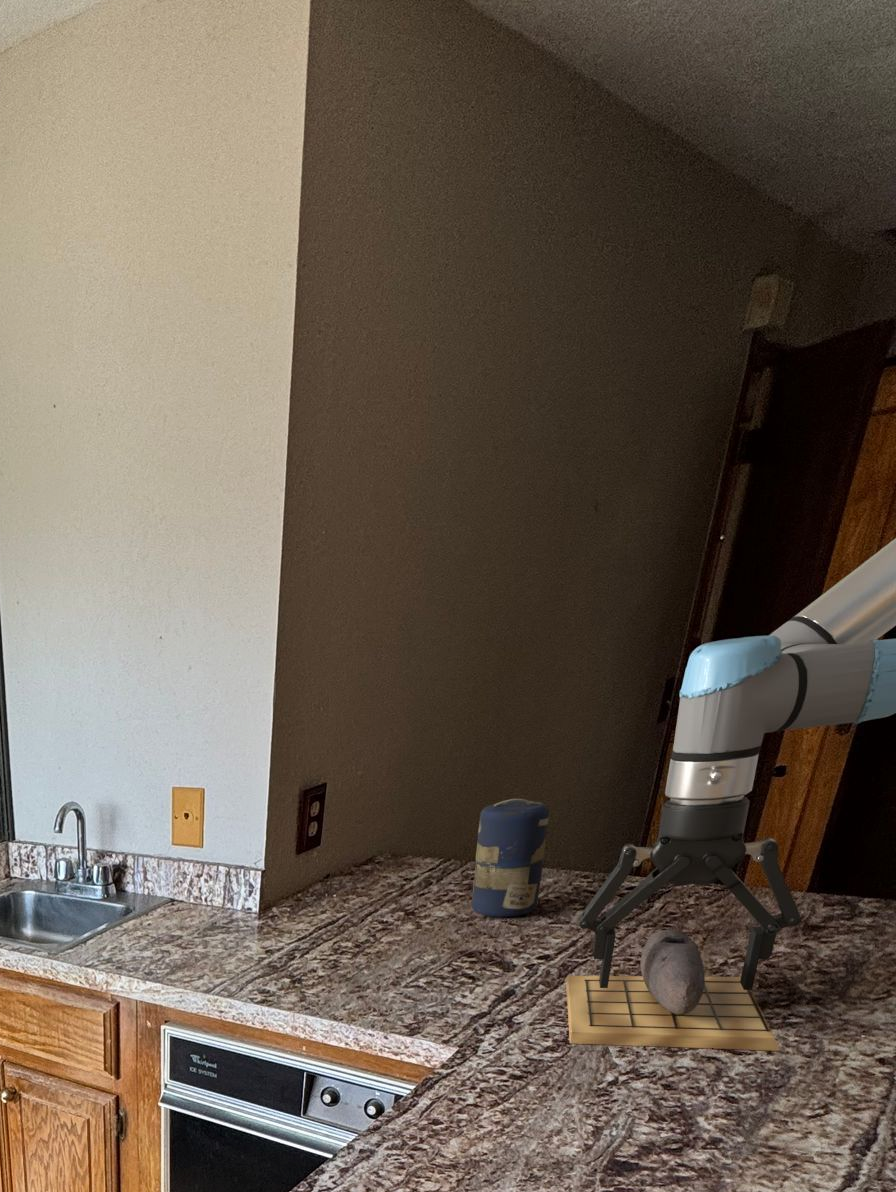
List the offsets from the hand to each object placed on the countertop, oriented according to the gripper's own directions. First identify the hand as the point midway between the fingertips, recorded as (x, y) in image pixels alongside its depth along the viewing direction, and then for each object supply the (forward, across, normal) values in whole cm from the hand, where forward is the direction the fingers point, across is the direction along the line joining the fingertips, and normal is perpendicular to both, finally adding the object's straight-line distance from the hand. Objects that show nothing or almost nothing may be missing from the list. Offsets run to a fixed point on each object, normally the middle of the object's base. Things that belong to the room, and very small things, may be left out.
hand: (672, 985), depth 116 cm
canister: (+4, -18, +46) cm, 50 cm away
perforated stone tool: (+2, 0, 0) cm, 2 cm away
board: (+4, 0, 0) cm, 4 cm away
